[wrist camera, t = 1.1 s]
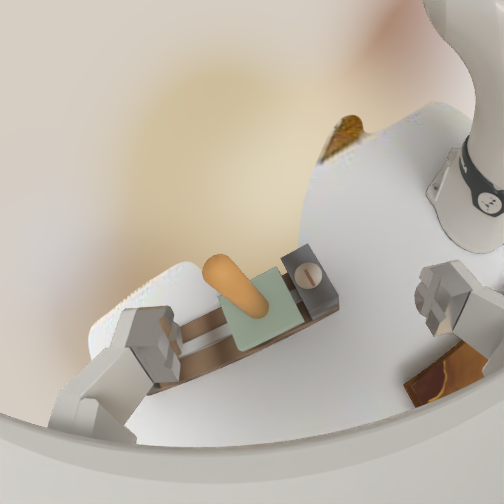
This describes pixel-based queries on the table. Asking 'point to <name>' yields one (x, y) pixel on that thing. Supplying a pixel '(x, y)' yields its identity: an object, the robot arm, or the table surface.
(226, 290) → the slider with orange handle
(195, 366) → the rail
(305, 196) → the table surface
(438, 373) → the diary
